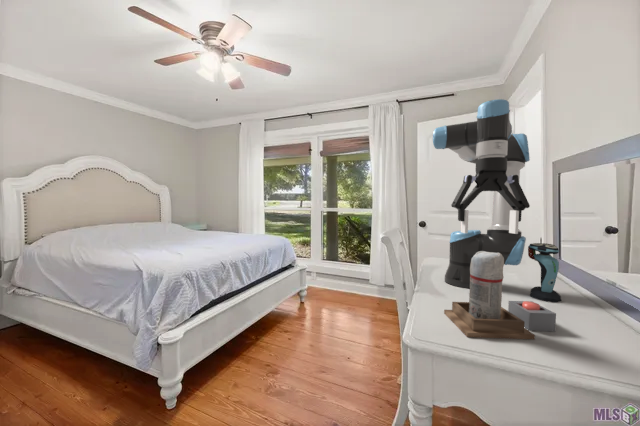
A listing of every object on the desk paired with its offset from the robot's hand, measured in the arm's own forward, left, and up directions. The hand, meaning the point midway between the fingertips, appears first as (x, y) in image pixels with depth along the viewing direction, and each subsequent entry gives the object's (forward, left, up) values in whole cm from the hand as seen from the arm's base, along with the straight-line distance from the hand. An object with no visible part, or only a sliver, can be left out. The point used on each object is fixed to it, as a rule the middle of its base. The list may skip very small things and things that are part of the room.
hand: (488, 233), depth 77 cm
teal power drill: (-26, +35, -27) cm, 51 cm away
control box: (-2, +14, -27) cm, 30 cm away
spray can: (0, 0, -26) cm, 26 cm away
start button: (-2, +14, -23) cm, 27 cm away
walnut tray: (0, 0, -27) cm, 27 cm away
